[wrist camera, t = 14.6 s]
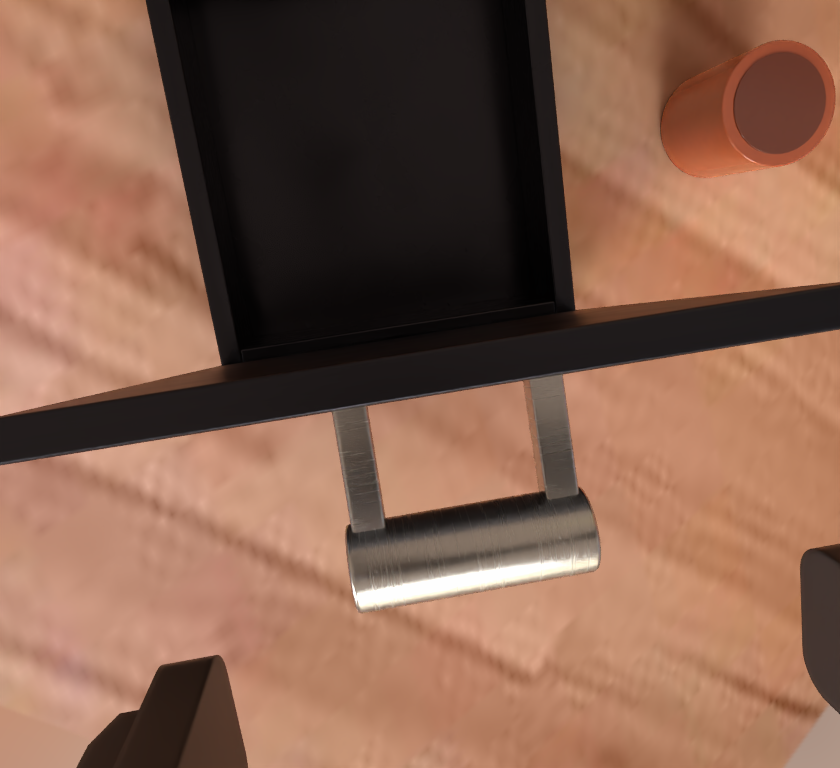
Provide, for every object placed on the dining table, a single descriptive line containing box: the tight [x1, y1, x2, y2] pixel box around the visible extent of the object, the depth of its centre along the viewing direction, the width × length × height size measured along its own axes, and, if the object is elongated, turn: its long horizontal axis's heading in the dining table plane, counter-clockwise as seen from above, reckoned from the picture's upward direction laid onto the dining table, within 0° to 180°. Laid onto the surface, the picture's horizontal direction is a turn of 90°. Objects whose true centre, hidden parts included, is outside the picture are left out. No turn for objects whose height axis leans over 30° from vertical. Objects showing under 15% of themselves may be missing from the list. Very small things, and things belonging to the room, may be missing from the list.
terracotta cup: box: [661, 40, 835, 178], centre depth 32 cm, size 5×5×6 cm
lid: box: [0, 282, 840, 613], centre depth 22 cm, size 19×16×5 cm
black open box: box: [146, 0, 575, 366], centre depth 32 cm, size 18×16×5 cm
